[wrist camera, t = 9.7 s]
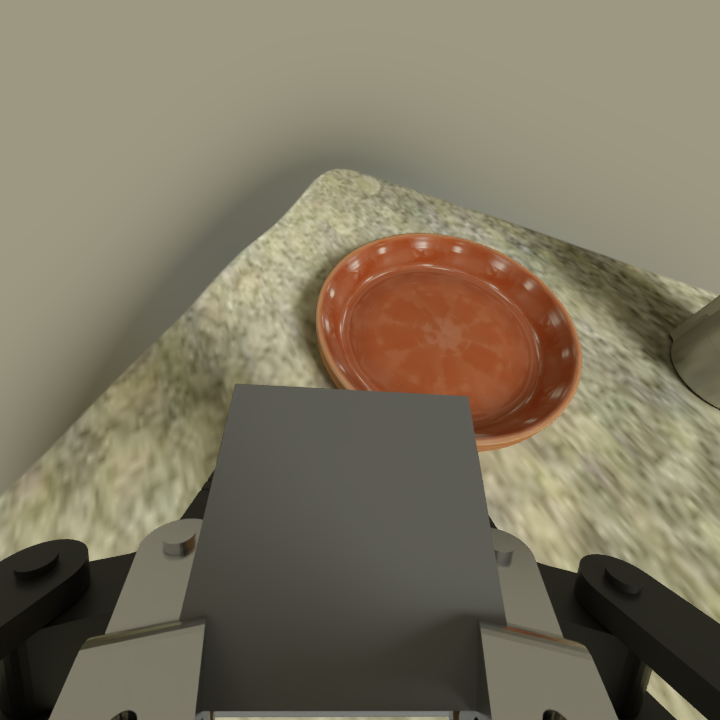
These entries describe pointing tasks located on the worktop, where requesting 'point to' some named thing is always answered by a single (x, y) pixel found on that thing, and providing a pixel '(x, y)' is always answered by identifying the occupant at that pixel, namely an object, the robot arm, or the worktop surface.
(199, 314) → the worktop surface
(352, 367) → the saucer
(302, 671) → the plug
